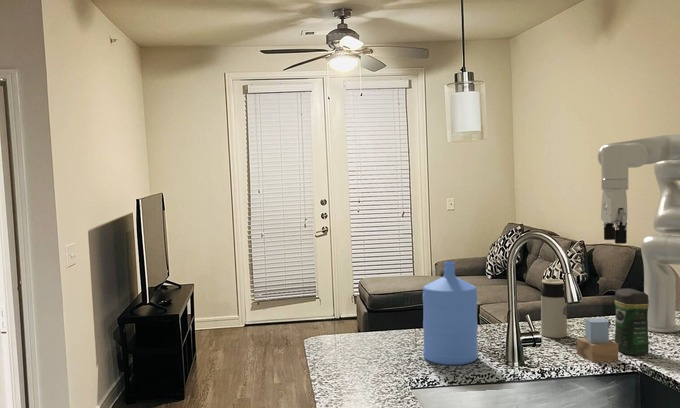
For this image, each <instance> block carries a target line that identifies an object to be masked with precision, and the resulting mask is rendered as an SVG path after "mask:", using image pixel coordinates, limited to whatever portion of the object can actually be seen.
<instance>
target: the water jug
mask: <svg viewBox="0 0 680 408" xmlns="http://www.w3.org/2000/svg"><path fill="white" fill-rule="evenodd" d="M443 264H444V267H443V273H444V274H443V276H442V277H440V278H438V279H435V280H433V281H432V282H429V283H427V284H426V285H424V286H423V288H422V303H423V304H422V305H423V306H422V307H423V308H422V309H423V310H422V311H423V313H422V314H423V316H422V319H423V321H422V328H423V349H422V351H423V352H422V354H423V357H424V359H426V360H427V361H428V362H430V363H434V364H439V365H445V366H446V365H447V366H460V365H461V366H462V365H466V364H467V365H468V364H471V363H473V362H475V361H477V359H478V356H479V355H478V354H479V350H478V326H479V324H478V293H477V291H478V290H477V286H475V285H473V284H472V283H469V282H468V281H465V280H463V279H461V278H459V277H457V276H456V267H455V264H456V262H454V261H445V262H443Z"/></svg>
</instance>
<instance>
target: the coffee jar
mask: <svg viewBox="0 0 680 408" xmlns="http://www.w3.org/2000/svg"><path fill="white" fill-rule="evenodd" d="M614 306H615V327H614V328H615V329H614V342H616V343H618V352H621V353H623V354H627V355H633V356H634V355H635V356H643V355H647V354H648V353H649V351H650V349H649V348H650V347H649V342H650V341H649V331H648V307H649V299H648V295H647V294H645V293H644V291H639V290H637V289H633V288H628V287H627V288H618V289H617V290H616V291H615V294H614Z"/></svg>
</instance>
